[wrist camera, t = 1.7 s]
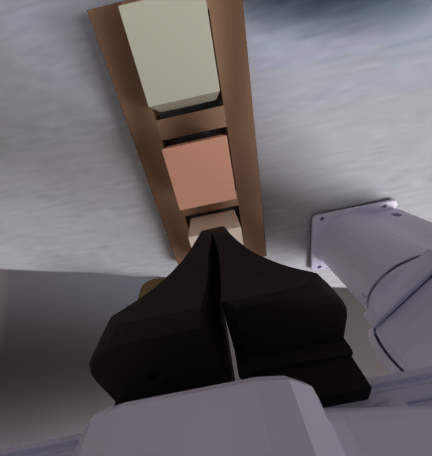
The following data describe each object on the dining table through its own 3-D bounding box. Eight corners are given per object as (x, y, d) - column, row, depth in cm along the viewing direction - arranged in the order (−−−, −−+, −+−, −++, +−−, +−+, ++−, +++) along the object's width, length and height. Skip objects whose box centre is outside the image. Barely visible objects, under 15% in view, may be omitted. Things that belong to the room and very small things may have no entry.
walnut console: (235, -7, 14) (239, -28, 12) (261, 246, 24) (266, 256, 22) (101, 25, 14) (86, 10, 12) (182, 262, 24) (181, 272, 22)
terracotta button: (221, 134, 17) (226, 135, 13) (230, 185, 19) (236, 198, 15) (170, 145, 17) (161, 149, 13) (184, 195, 19) (180, 210, 15)
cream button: (233, 209, 20) (241, 226, 16) (240, 246, 22) (247, 268, 18) (190, 218, 20) (188, 237, 16) (200, 253, 22) (200, 278, 18)
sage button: (203, 23, 13) (203, -16, 10) (215, 99, 15) (219, 90, 12) (140, 38, 14) (118, 6, 10) (160, 112, 16) (148, 107, 12)
